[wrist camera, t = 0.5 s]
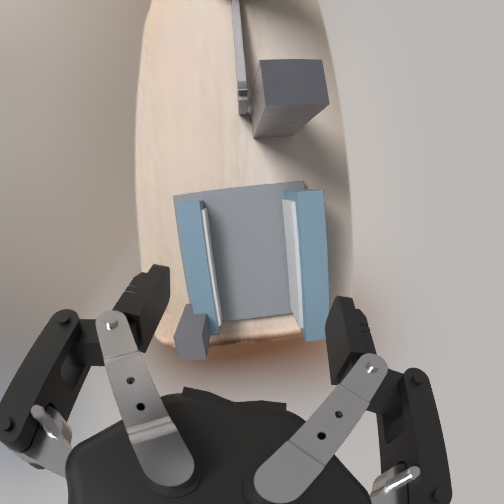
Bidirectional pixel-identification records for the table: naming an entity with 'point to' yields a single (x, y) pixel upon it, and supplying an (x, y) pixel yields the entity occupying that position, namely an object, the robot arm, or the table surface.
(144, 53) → the table surface
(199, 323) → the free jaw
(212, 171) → the table surface
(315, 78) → the steel block
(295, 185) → the vise base
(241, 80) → the caliper
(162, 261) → the table surface
